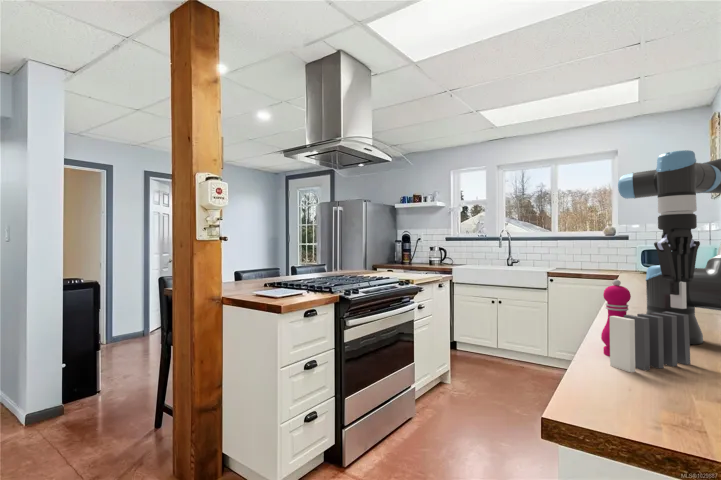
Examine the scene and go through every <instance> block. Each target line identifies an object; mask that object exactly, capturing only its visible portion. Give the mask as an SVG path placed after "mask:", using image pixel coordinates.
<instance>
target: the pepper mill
mask: <svg viewBox="0 0 721 480" xmlns="http://www.w3.org/2000/svg"><path fill="white" fill-rule="evenodd" d="M602 296H603V299H604V300H605V301H606V302H607V303H605V309H607V320H606V323H605V325H604V327H603V328H602V331H601V335H600V336H601V337H600V338H601V341H602V342H603V343H604V345H605V346H603V354H604V355H605V356H607V357H610V316H618V317H624V315H627V311H629V305H628V303H629V302H630V300H631V297H632V296H631V291H630V290H629V288H626V287H625V286H622V285H621V280H619V279H613V281H612V285H609V286H607V287H606V288H605V289H604V290H603V295H602Z"/></svg>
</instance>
